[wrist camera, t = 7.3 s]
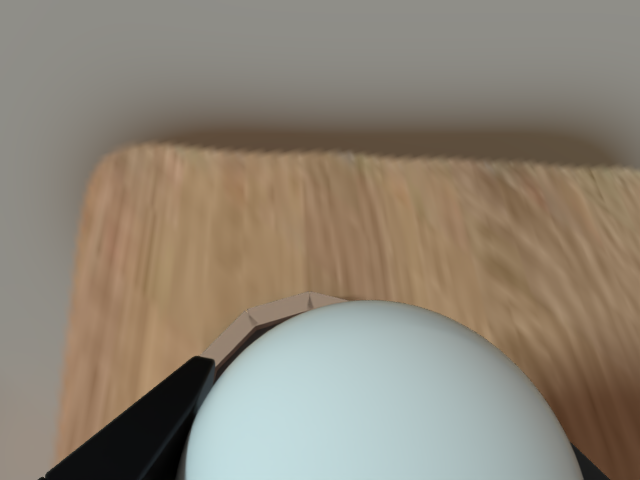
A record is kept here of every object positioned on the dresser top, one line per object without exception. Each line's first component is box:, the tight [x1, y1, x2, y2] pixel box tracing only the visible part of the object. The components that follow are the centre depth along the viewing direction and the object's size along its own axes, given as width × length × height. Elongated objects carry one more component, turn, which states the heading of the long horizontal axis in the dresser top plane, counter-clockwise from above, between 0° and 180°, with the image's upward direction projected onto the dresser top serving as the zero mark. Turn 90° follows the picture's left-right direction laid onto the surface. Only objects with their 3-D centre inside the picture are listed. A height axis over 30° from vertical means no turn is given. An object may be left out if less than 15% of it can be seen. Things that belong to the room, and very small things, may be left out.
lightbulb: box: [175, 300, 584, 480], centre depth 10 cm, size 6×6×11 cm
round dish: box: [200, 291, 348, 385], centre depth 20 cm, size 11×11×2 cm
